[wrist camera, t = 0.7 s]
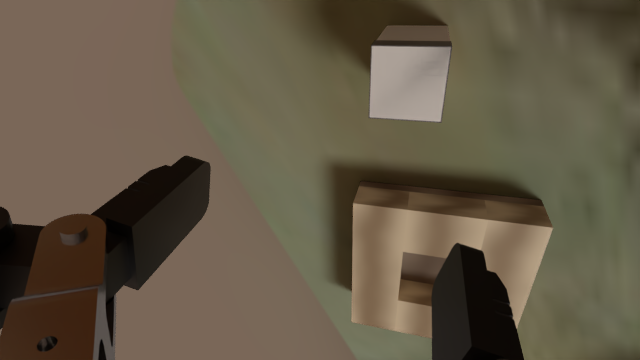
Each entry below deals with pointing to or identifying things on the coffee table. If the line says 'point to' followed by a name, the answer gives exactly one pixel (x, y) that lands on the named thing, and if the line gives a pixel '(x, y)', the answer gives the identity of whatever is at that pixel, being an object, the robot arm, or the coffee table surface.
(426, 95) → the connector plug
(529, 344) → the coffee table surface
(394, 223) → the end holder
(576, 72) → the coffee table surface
